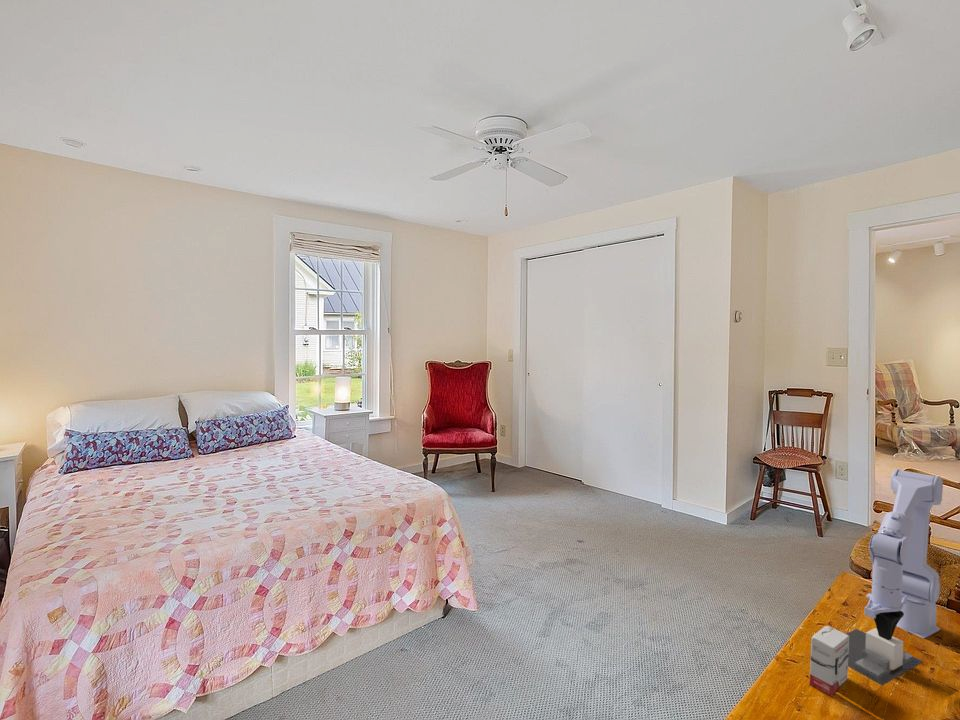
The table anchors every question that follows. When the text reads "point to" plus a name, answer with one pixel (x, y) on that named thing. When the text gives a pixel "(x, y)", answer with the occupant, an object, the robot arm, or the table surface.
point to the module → (885, 648)
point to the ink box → (829, 659)
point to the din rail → (874, 660)
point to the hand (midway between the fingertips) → (884, 637)
